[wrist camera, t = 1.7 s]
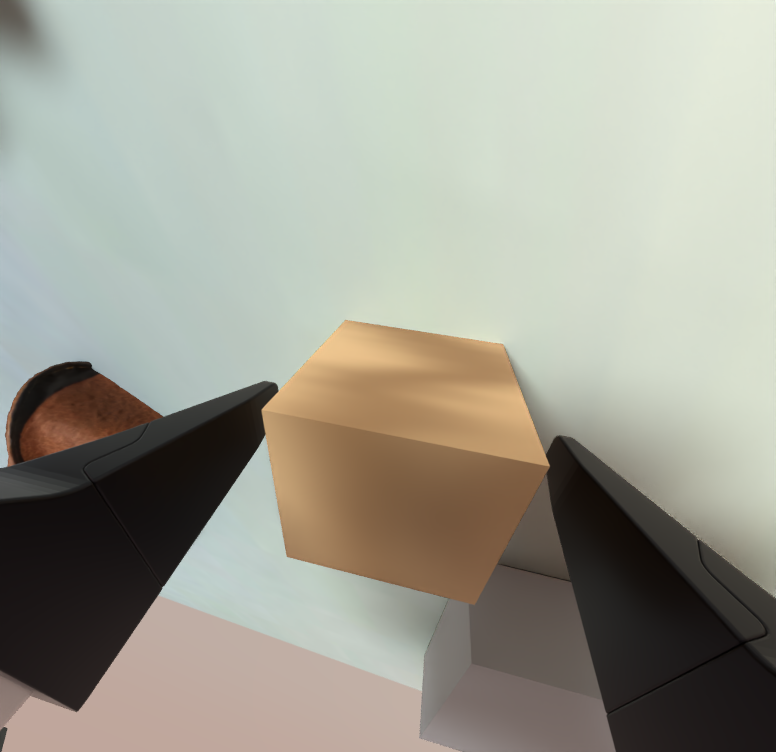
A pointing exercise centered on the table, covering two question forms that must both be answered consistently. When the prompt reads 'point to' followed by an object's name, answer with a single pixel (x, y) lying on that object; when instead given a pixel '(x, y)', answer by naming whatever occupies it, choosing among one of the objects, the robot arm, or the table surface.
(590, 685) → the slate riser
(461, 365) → the oak cube
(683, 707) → the robot arm
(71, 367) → the sunglasses case
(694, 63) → the table surface
